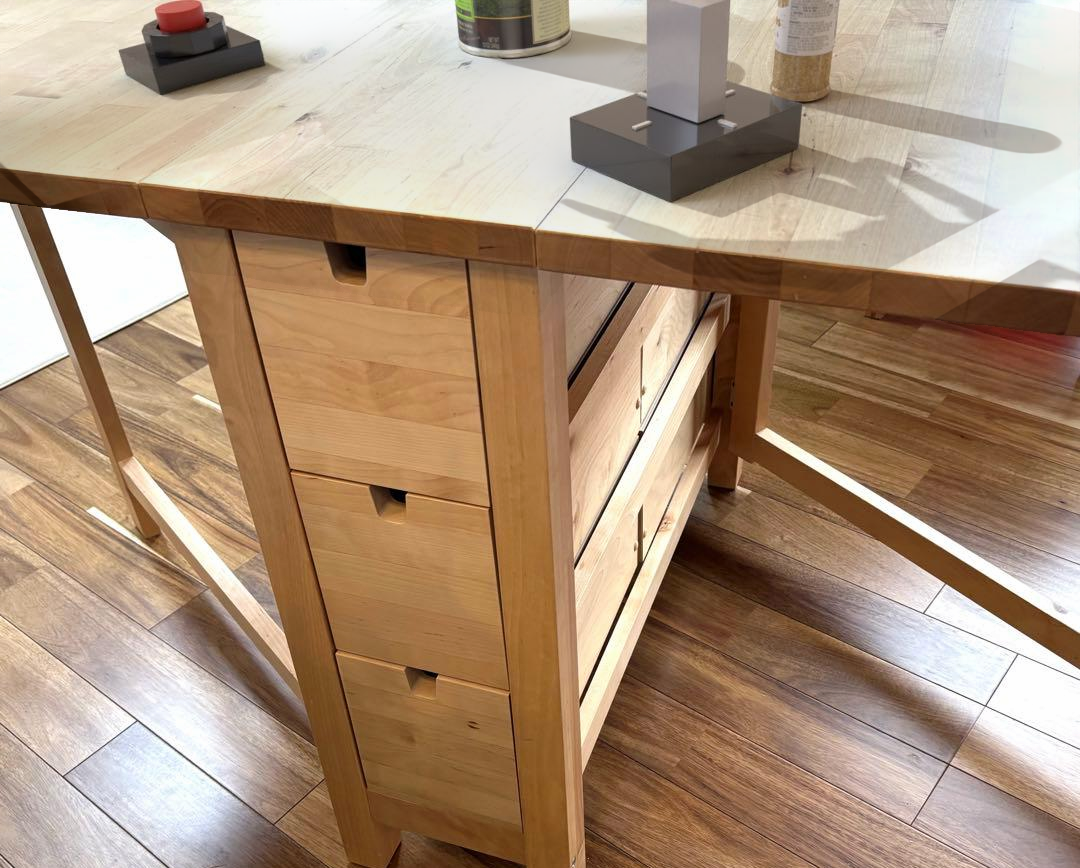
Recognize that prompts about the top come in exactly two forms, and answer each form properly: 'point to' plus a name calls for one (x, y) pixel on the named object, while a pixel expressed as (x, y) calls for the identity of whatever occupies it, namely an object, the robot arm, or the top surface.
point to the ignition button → (180, 15)
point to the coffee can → (512, 27)
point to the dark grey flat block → (684, 141)
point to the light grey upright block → (687, 57)
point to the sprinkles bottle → (804, 48)
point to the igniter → (190, 55)
